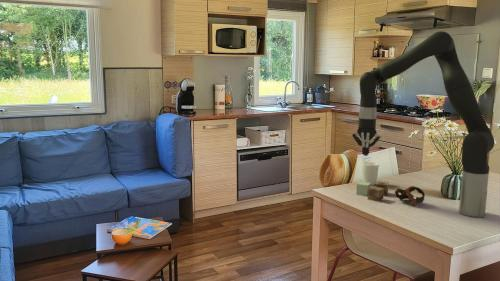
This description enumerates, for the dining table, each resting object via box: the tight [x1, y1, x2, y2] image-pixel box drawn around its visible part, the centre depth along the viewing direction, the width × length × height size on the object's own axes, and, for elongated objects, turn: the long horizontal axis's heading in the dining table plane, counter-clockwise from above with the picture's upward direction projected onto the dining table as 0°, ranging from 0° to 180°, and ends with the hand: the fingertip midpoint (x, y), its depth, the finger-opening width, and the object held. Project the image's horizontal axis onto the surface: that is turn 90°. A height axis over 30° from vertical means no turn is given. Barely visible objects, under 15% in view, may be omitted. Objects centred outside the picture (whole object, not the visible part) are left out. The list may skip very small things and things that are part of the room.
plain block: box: [355, 180, 372, 197], centre depth 203 cm, size 5×5×5 cm
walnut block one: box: [375, 180, 389, 197], centre depth 203 cm, size 5×5×5 cm
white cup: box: [361, 161, 380, 186], centre depth 220 cm, size 8×8×10 cm
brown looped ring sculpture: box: [394, 185, 426, 207], centre depth 189 cm, size 12×9×8 cm
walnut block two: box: [367, 185, 385, 202], centre depth 195 cm, size 5×5×5 cm
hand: (365, 155), depth 200 cm, fingers closed
